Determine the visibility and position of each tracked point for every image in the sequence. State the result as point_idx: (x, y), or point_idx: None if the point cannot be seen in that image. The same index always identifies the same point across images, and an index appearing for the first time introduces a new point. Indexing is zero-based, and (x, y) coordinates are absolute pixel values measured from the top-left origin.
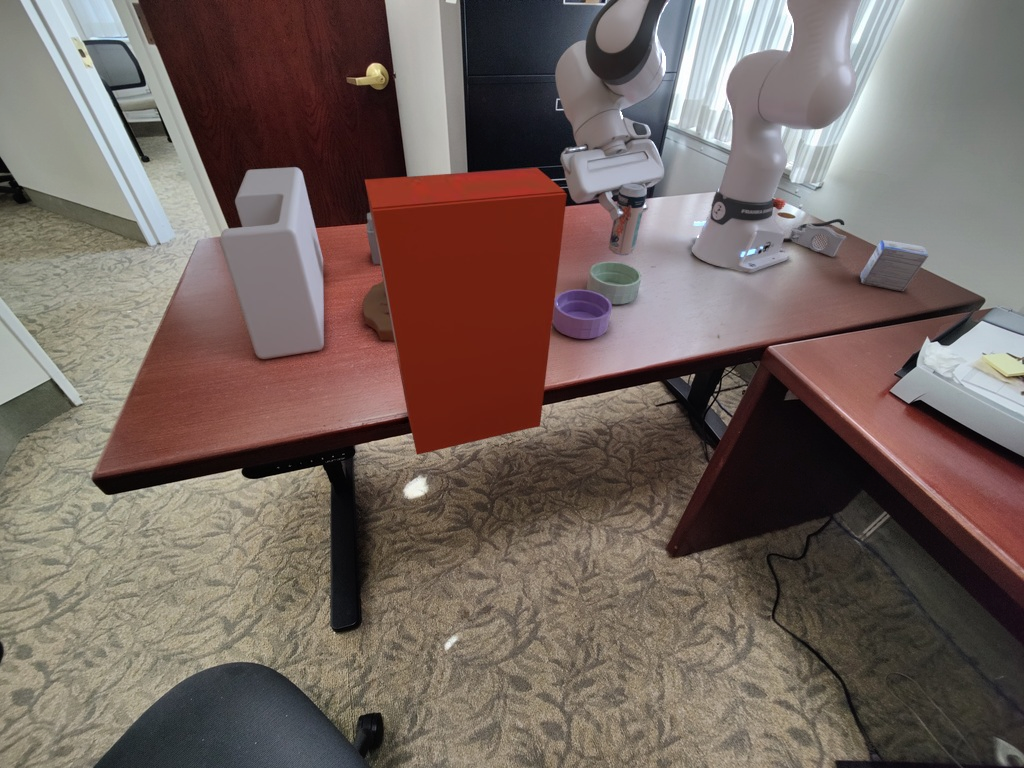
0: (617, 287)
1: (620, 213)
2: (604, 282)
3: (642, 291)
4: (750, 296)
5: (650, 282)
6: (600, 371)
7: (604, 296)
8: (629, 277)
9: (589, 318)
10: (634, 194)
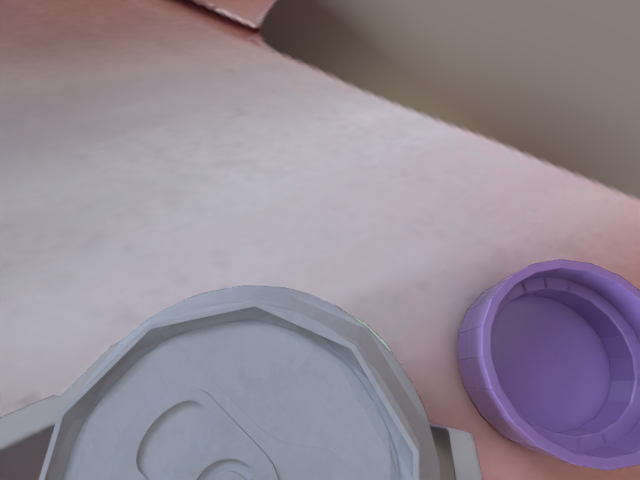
0: (384, 341)
1: (440, 431)
2: None
3: None
4: (56, 117)
5: None
6: (628, 205)
7: None
8: None
9: (624, 285)
10: (384, 360)
